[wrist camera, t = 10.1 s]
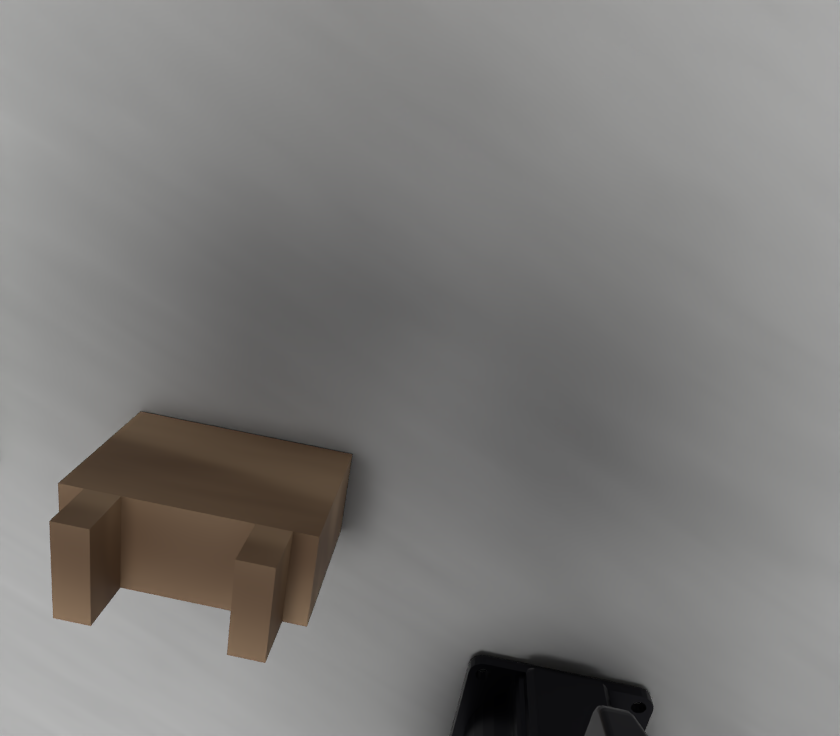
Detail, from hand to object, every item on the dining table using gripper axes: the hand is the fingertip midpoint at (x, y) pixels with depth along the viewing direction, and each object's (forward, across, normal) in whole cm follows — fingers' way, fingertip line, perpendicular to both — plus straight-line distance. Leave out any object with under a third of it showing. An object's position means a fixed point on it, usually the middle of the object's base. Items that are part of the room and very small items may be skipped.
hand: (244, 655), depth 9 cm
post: (+12, +4, +6) cm, 14 cm away
